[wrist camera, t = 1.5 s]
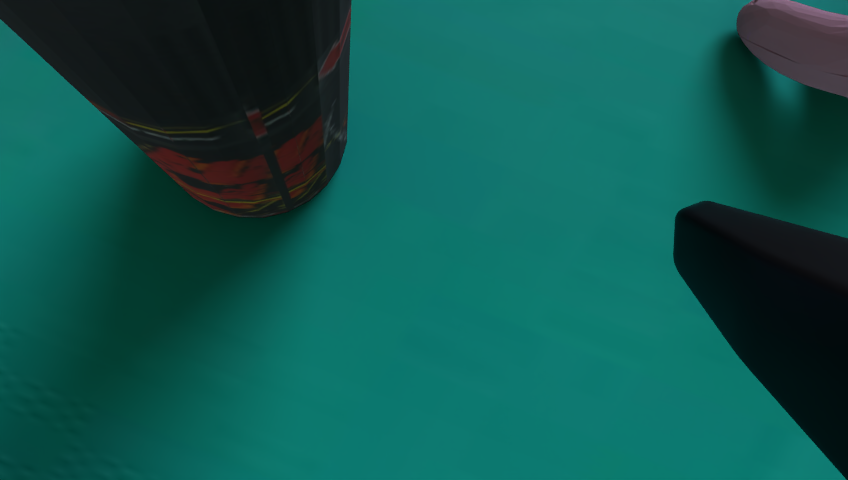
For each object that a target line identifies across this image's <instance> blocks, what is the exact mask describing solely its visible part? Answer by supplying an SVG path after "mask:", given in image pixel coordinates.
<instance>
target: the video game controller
mask: <svg viewBox="0 0 848 480" xmlns="http://www.w3.org/2000/svg"><path fill="white" fill-rule="evenodd" d="M737 31H738V34H739V36H740V38H741V39H742V41H743V43H744V44H745V45H746V46H747V48H748V49H749V50H750V51H751V52H752V53H753V54H754V55H755V56H756V57H757V58H758V59H760V60H761V61H762V62H763V63H764V64H766V65H768V66H769V67H771V68H772V69H774V70H776V71H777V72H779V73H780V74H782V75H785V76H787V77H789V78H791V79H793V80H795V81H797V82H800V83H802V84H804V85H807V86H810V87H814V88H817V89H820V90H823V91H827V92H830V93H834V94H837V95H841V96H844V97H847V99H848V16H846V15H841V14H837V13H832V12H827V11H823V10H820V9H817V8H813V7H810V6H807V5H804V4H800V3H797V2H794V1H789V0H753V1H752V2H750V3H748V4H747V5H745V6H744V7H743V8H742V9H741V10H740V12H739V13H738V17H737Z"/></svg>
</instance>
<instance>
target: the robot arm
mask: <svg viewBox="0 0 848 480" xmlns="http://www.w3.org/2000/svg"><path fill="white" fill-rule="evenodd" d="M673 257H674V263H675V266H676V268H677V270H678V272H679V274H680V275H681V277H682V278H683V279H684V281H685V282H686V284H687V285H688V287H689V288H690V289H691V291H692V292H693V294H694V295H695V296H696V298H697V299H698V301H699V302H700V304H701V305H702V306H703V308H704V309H705V311H706V312H707V313H708V315H709V316H710V318H711V319H712V320H713V322H714V323H715V325H716V326H717V328H718V329H719V330H720V332H721V333H722V335H723V336H724V337H725V339H726V340H727V342H728V343H729V344H730V346H731V347H732V348H733V350H734V351H735V352H736V354H737V355H738V356H739V358H740V359H741V360H742V361H743V362H744V364H745V365H746V366H747V367H748V368H749V370H750V371H751V372H752V373H753V374H754V375H755V376H756V378H757V379H758V380H759V381H760V382H761V383H762V384H763V386H764V387H765V388H766V389H767V390H768V391H769V392H770V393H771V395H772V396H773V397H774V398H775V399H776V400H777V401H778V403H779V404H780V405H781V406H782V407H783V408H784V409H785V410H786V412H787V413H788V414H789V415H790V416H791V417H792V418H793V419H794V421H795V422H796V423H797V424H798V425H799V426H800V427H801V429H802V430H803V431H804V432H805V433H806V434H807V435H808V436H809V438H810V439H811V440H812V441H813V442H814V443H815V444H816V445H817V447H818V448H819V449H820V450H821V451H822V452H823V453H824V455H825V456H826V457H827V458H828V459H829V460H830V461H831V462H832V464H833V465H834V466H835V467H836V468H837V469H838V470H839V471H840V473H841V474H842V475H843V476H844V477H845V478H846V479H847V480H848V238H844V237H840V236H837V235H833V234H829V233H825V232H822V231H818V230H814V229H811V228H807V227H803V226H800V225H796V224H792V223H789V222H785V221H781V220H778V219H774V218H770V217H767V216H763V215H759V214H755V213H752V212H748V211H744V210H741V209H737V208H733V207H730V206H726V205H722V204H719V203H715V202H711V201H702V202H699V203H696V204H693V205H691V206H688V207H686V208H683V209H681V210H680V211H678V213H677V215H676V217H675V231H674V251H673Z"/></svg>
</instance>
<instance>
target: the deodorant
mask: <svg viewBox="0 0 848 480" xmlns="http://www.w3.org/2000/svg"><path fill="white" fill-rule="evenodd" d="M0 19H1V20H2V21H3V22H4V23H5V24H7V25H8V26H9V27H10V28H11V29H12V30H13V31H14V32H15V33H16V34H17V35H18V36H19V37H21V38H22V39H23V40H24V41H25V42H26V43H27V44H28V45H29V46H30V47H31V48H32V49H33V50H35V51H36V52H37V53H38V54H39V55H40V56H41V57H42V58H43V59H44V60H45V61H46V62H47V63H49V64H50V65H51V66H52V67H53V68H54V69H55V70H56V71H57V72H58V73H59V74H60V75H61V76H63V77H64V78H65V79H66V80H67V81H68V82H69V83H70V84H71V85H72V86H73V87H74V88H75V89H77V90H78V91H79V92H80V93H81V94H82V95H83V96H84V97H85V98H86V99H87V100H88V101H89V102H91V103H92V104H93V105H94V106H95V107H96V108H97V109H98V110H99V111H100V112H101V113H102V114H103V115H105V116H106V117H107V118H108V119H109V120H110V121H111V122H112V123H113V124H114V125H115V126H116V127H118V128H119V129H120V130H121V131H122V132H123V133H124V134H125V135H126V136H127V137H128V138H129V139H130V140H132V141H133V142H134V143H135V144H136V145H137V146H138V147H139V148H140V149H141V150H142V151H143V152H144V153H146V154H147V155H148V156H149V157H150V158H151V159H152V160H153V161H154V162H155V163H156V164H157V165H158V166H160V167H161V168H162V169H163V170H164V171H165V172H166V173H167V174H168V175H169V176H170V177H171V178H172V179H174V180H175V181H176V182H177V183H178V184H179V185H180V186H181V187H182V188H183V189H184V190H185V191H186V192H188V193H189V194H190V195H191V196H192V197H193V198H195V199H196V200H198V201H200V202H201V203H203V204H205V205H206V206H208V207H210V208H211V209H213V210H215V211H219V212H222V213H226V214H229V215H233V216H236V217H257V218H264V217H268V216H273V215H277V214H281V213H286V212H289V211H291V210H293V209H295V208H297V207H298V206H300V205H302V204H304V203H306V202H308V201H310V200H311V199H312V198H313V197H314V196H315V195H316V194H317V193H318V192H320V191H321V190H322V189H323V188H324V187H325V186H326V185H327V184H328V183H329V181H330V179H331V178H332V176H333V175H334V173H335V171H336V170H337V168H338V167H339V165H340V162H341V159H342V156H343V152H344V149H345V146H346V142H347V116H348V86H349V55H350V25H351V0H0Z"/></svg>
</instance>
